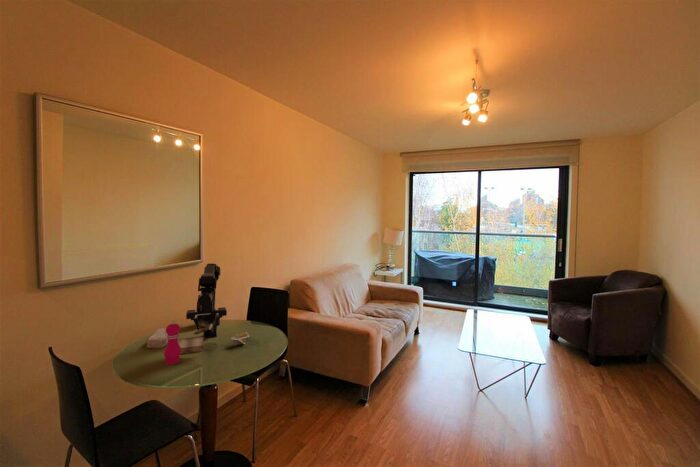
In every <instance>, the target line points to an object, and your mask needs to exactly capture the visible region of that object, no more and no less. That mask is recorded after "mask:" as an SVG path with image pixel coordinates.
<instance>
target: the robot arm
mask: <svg viewBox="0 0 700 467" xmlns="http://www.w3.org/2000/svg"><path fill="white" fill-rule="evenodd" d="M203 270H204V271H203V273H202V274H201V276H200V277H199V279H198V286H197V292H200V294H199V295H200V297H199V299H198V298H197V301H198V307H201V311H200V312H197V311H196V309H188V310H187V311H186V316H185V317H186V318H185V319H186V320H190V321H193V324H195V327H196V329H197V331H198V330H200V327H199V324H198V315H204V316H203V317H202V320H203V321H206V322H208V323H209V325H210V324H211V323H213V322H214V321H215V322H214V327H213V328H214V329H213V332H212V331H211V330H207V331H206V332H202V333H203V334H202V337H203V339H208V338H217V336H218V334H217V327H219V326H220V324H221V323H220V322H221V321H220V320H221V318H223V317H226V316H228V311H227V308H226V307H225V306H224V307H217V309H216V289H217V284H218V281H219V279H220V276H221V273H222V272H221V267H220V266H218V265H217V263H206V266H205V267H204V268H203ZM203 328H205V327H203ZM211 329H212V328H211Z"/></svg>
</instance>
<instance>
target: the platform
mask: <svg viewBox="0 0 700 467" xmlns="http://www.w3.org/2000/svg"><path fill="white" fill-rule="evenodd" d="M249 337H250V333H248V332H247V331H245V332H244V333H243V332H241V333H239V334H238V333H237V334H235V336H232V337H231V338H230V339H231V340H233V346H234V347H235V346H237V345H241V344H242V345H246V344H247V342H248V338H249Z"/></svg>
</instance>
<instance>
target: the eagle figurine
mask: <svg viewBox="0 0 700 467" xmlns="http://www.w3.org/2000/svg"><path fill="white" fill-rule="evenodd" d="M214 322H215V321H214ZM214 322H213V323H211V324H210V325H209V323H208V322H206V321H203V320H200V319H199V320H198V324H199V326H201V327H200V328H199V330H198V329H197V330H196V331H194V333H193V334H194V335H199V334H202V333H203V332H206V331H207V330H211V331H212V332H213V329H214V328H213V327H214ZM204 327H205V328H204ZM211 328H212V329H211Z"/></svg>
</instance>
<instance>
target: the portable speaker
mask: <svg viewBox="0 0 700 467" xmlns="http://www.w3.org/2000/svg"><path fill="white" fill-rule="evenodd" d="M200 295H201V294H198V296H197V300H196V312H200V311H201V307H198V299H199V297H200ZM203 316H204V315H198V320H199V319H200V320H202V317H203ZM199 328H202V327H201V326H199Z"/></svg>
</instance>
